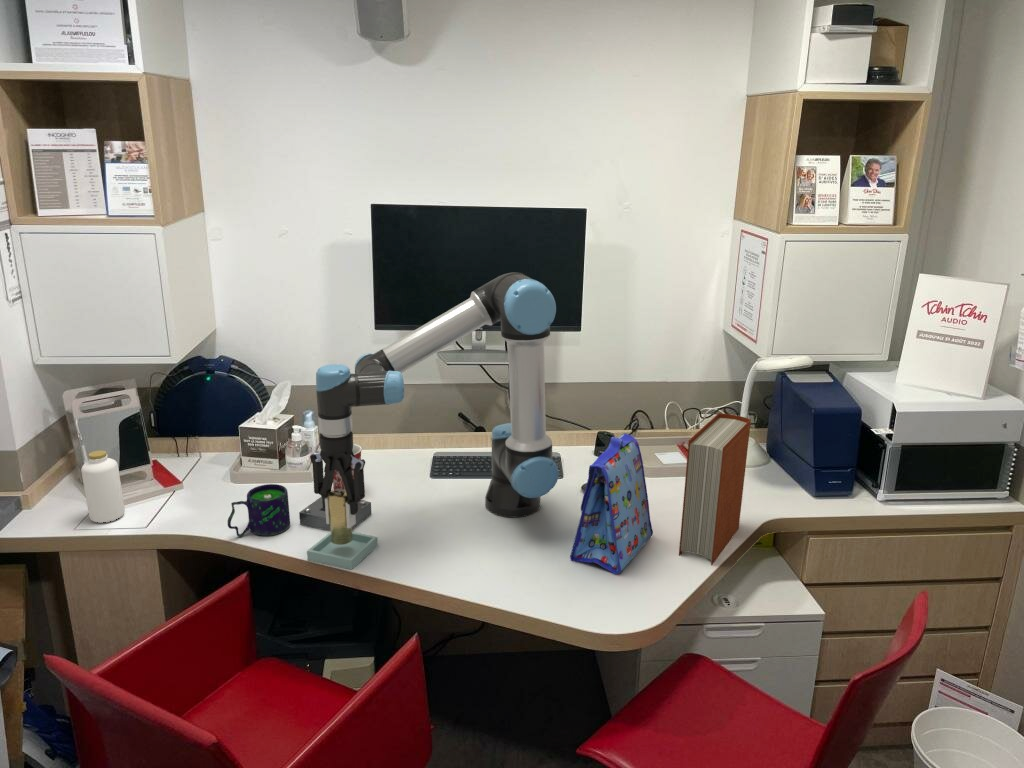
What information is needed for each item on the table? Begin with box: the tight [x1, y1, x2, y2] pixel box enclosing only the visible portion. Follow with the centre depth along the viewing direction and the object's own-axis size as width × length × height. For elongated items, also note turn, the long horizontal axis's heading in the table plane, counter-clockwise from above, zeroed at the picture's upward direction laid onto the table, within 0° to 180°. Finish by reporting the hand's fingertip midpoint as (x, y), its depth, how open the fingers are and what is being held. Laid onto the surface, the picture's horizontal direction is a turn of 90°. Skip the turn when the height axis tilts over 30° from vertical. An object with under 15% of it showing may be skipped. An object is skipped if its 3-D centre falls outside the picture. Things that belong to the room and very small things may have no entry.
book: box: [678, 413, 752, 566], centre depth 189 cm, size 23×8×30 cm, turn 148°
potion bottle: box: [81, 450, 126, 524], centre depth 199 cm, size 8×8×18 cm
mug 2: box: [332, 443, 363, 491], centre depth 216 cm, size 13×9×14 cm
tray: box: [306, 531, 379, 571], centre depth 186 cm, size 12×12×2 cm
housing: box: [298, 496, 372, 532], centre depth 201 cm, size 14×12×4 cm
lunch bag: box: [569, 433, 654, 575], centre depth 185 cm, size 22×14×29 cm, turn 150°
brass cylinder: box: [328, 489, 353, 545], centre depth 183 cm, size 5×5×13 cm
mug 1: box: [227, 483, 291, 538], centre depth 195 cm, size 15×10×10 cm, turn 118°
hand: (341, 523), depth 183 cm, fingers closed on brass cylinder, 5 cm apart
